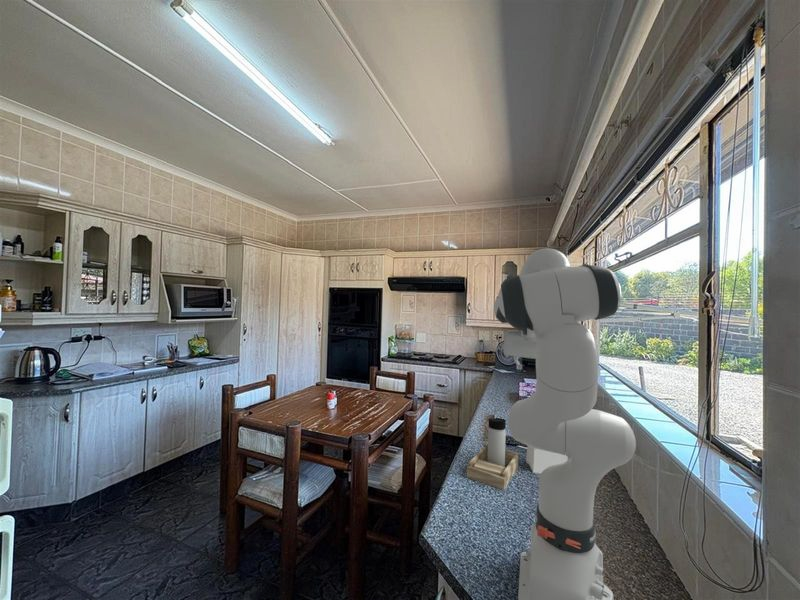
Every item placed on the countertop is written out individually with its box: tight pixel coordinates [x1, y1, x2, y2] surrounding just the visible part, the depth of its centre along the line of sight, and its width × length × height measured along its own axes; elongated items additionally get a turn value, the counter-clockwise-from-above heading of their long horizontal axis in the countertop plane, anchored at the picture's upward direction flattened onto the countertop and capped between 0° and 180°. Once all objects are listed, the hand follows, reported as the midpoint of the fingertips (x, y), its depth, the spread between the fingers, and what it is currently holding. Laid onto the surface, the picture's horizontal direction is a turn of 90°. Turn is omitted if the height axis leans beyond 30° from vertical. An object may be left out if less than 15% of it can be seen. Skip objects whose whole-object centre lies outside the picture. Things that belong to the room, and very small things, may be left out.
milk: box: [525, 445, 569, 474], centre depth 120 cm, size 12×12×26 cm
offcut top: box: [474, 460, 503, 476], centre depth 111 cm, size 5×9×2 cm, turn 60°
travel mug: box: [487, 417, 507, 467], centre depth 118 cm, size 6×7×20 cm
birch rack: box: [466, 443, 519, 491], centre depth 115 cm, size 18×13×7 cm
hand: (533, 371), depth 109 cm, fingers open, 8 cm apart
